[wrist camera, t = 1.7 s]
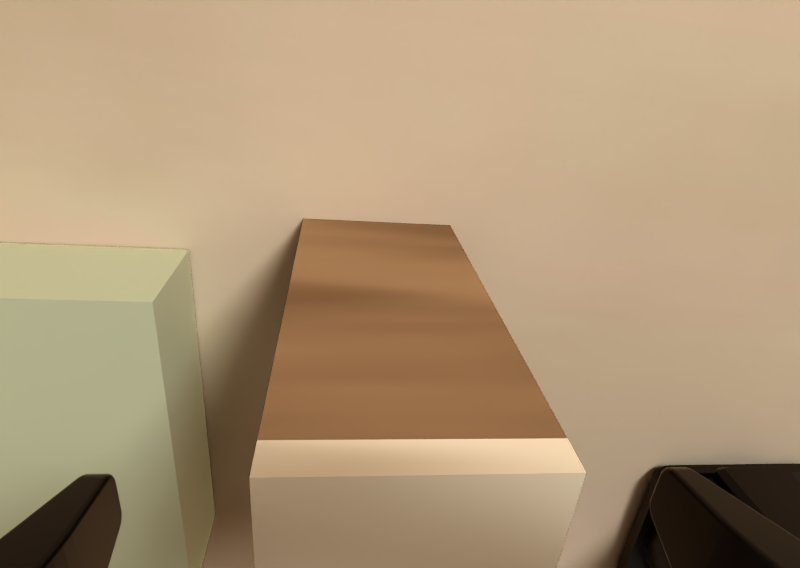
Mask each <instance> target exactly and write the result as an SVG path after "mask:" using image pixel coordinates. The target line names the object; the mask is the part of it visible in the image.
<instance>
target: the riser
mask: <svg viewBox="0 0 800 568" xmlns="http://www.w3.org/2000/svg"><path fill="white" fill-rule="evenodd" d="M84 474H111V475H112V476H113V477H114V479H115V481H116V486H117V491H118V496H119V501H120V506H121V511H122V519H121V526H120V530H119V533H118V536H117V540H116V543H115V546H114V550H113V553H112V556H111V560H110V563H109V566H108V568H202V564H203V560H204V556H205V552H206V549H207V545H208V541H209V537H210V533H211V530H212V526H213V522H214V518H215V508H214V498H213V487H212V477H211V467H210V457H209V447H208V437H207V427H206V416H205V406H204V396H203V386H202V376H201V366H200V356H199V345H198V335H197V325H196V315H195V305H194V295H193V285H192V274H191V264H190V254H189V250H184V249H158V248H131V247H104V246H78V245H51V244H25V243H0V538H2V537H3V536H4V535H5V534H7V533H8V532H9V531H10V530H12V529H13V528H14V527H16V526H17V525H18V524H19V523H21V522H22V521H23V520H25V519H26V518H27V517H28V516H30V515H31V514H32V513H33V512H35V511H36V510H37V509H39V508H40V507H41V506H42V505H44V504H45V503H46V502H48V501H49V500H50V499H51V498H53V497H54V496H55V495H56V494H58V493H59V492H60V491H62V490H63V489H64V488H65V487H67V486H68V485H69V484H71V483H72V482H73V481H74V480H76V479H77V478H78V477H80V476H82V475H84Z"/></svg>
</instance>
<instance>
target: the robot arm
mask: <svg viewBox="0 0 800 568" xmlns="http://www.w3.org/2000/svg"><path fill="white" fill-rule="evenodd" d="M121 519H122V511H121V506H120V501H119V496H118V491H117V486H116V481H115V479H114V477H113V476H112V475H111V474H84V475H82V476H80V477H78V478H77V479H76V480H74V481H73V482H72V483H71V484H69V485H68V486H67V487H65V488H64V489H63V490H62V491H60V492H59V493H58V494H56V495H55V496H54V497H53V498H51V499H50V500H49V501H48V502H46V503H45V504H44V505H42V506H41V507H40V508H39V509H37V510H36V511H35V512H33V513H32V514H31V515H30V516H28V517H27V518H26V519H25V520H23V521H22V522H21V523H19V524H18V525H17V526H16V527H14V528H13V529H12V530H10V531H9V532H8V533H7V534H5V535H4V536H3V537H2V538H0V568H108V566H109V563H110V560H111V556H112V553H113V550H114V546H115V543H116V540H117V536H118V533H119V530H120V526H121ZM617 568H800V464H743V465H669V466H664V467H662V468H659V469H658V470H657V471H656V472H655V473H654V475H653V477H652V479H651V482H650V484H649V487H648V489H647V492H646V494H645V497H644V500H643V502H642V505H641V507H640V510H639V512H638V515H637V518H636V520H635V523H634V525H633V528H632V530H631V533H630V535H629V538H628V541H627V543H626V546H625V548H624V551H623V553H622V556H621V559H620V561H619V564H618V566H617Z"/></svg>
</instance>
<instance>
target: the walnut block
mask: <svg viewBox="0 0 800 568" xmlns="http://www.w3.org/2000/svg"><path fill="white" fill-rule="evenodd" d="M585 476H586V471H585V469H584V468H583V466H582V464H581V462H580V460H579V459H578V457H577V455H576V453H575V451H574V449H573V448H572V446H571V444H570V442H569V440H568V439H567V437H566V435H565V433H564V431H563V429H562V428H561V426H560V424H559V422H558V420H557V419H556V417H555V415H554V413H553V411H552V409H551V408H550V406H549V404H548V402H547V400H546V399H545V397H544V395H543V393H542V391H541V390H540V388H539V386H538V384H537V382H536V380H535V379H534V377H533V375H532V373H531V371H530V370H529V368H528V366H527V364H526V362H525V360H524V359H523V357H522V355H521V353H520V351H519V350H518V348H517V346H516V344H515V342H514V341H513V339H512V337H511V335H510V333H509V331H508V330H507V328H506V326H505V324H504V322H503V321H502V319H501V317H500V315H499V313H498V311H497V310H496V308H495V306H494V304H493V302H492V301H491V299H490V297H489V295H488V293H487V291H486V290H485V288H484V286H483V284H482V282H481V281H480V279H479V277H478V275H477V273H476V272H475V270H474V268H473V266H472V264H471V262H470V261H469V259H468V257H467V255H466V253H465V252H464V250H463V248H462V246H461V244H460V242H459V241H458V239H457V237H456V235H455V233H454V232H453V230H452V228H451V226H450V225H429V224H407V223H385V222H363V221H342V220H320V219H303V222H302V227H301V232H300V237H299V241H298V246H297V251H296V256H295V261H294V265H293V270H292V275H291V280H290V285H289V289H288V294H287V299H286V304H285V309H284V313H283V318H282V323H281V328H280V333H279V337H278V342H277V347H276V352H275V357H274V362H273V366H272V371H271V376H270V381H269V386H268V390H267V395H266V400H265V405H264V410H263V414H262V419H261V424H260V429H259V434H258V438H257V443H256V448H255V453H254V458H253V462H252V467H251V472H250V477H249V481H250V499H251V516H252V534H253V552H254V568H556V567H557V564H558V561H559V558H560V555H561V552H562V548H563V545H564V542H565V539H566V536H567V533H568V529H569V526H570V523H571V520H572V517H573V514H574V510H575V507H576V504H577V501H578V498H579V495H580V491H581V488H582V485H583V482H584V479H585Z"/></svg>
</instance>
